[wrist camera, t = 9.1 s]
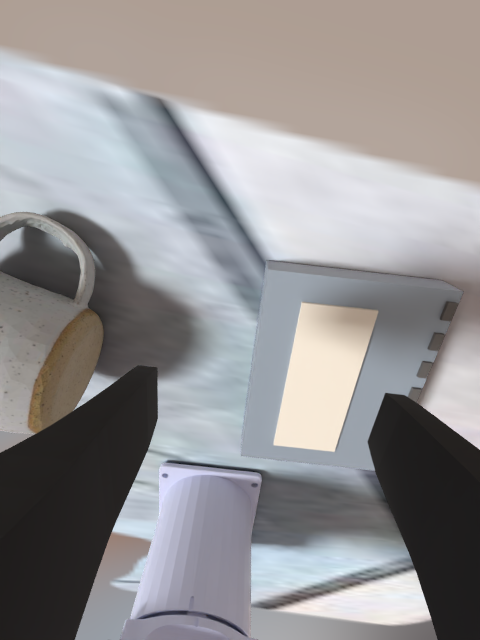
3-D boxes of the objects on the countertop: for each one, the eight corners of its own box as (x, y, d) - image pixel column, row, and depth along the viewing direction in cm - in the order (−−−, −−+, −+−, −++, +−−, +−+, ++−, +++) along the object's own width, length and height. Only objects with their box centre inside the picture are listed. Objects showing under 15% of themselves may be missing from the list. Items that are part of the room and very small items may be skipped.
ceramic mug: (100, 386, 21) (27, 483, 14) (-20, 349, 21) (-162, 433, 14) (132, 241, 17) (51, 276, 10) (-17, 187, 17) (-214, 186, 10)
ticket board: (376, 448, 23) (388, 474, 21) (241, 434, 23) (240, 458, 21) (441, 280, 17) (466, 292, 15) (266, 260, 17) (268, 270, 15)
